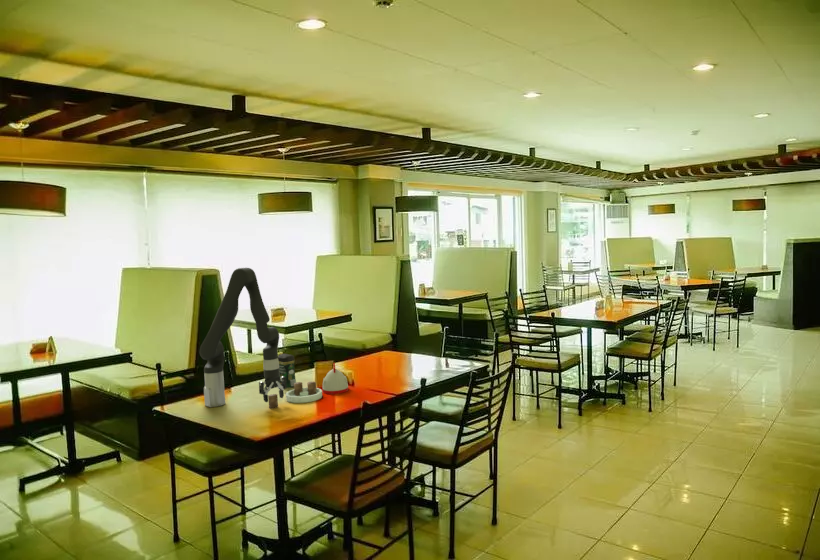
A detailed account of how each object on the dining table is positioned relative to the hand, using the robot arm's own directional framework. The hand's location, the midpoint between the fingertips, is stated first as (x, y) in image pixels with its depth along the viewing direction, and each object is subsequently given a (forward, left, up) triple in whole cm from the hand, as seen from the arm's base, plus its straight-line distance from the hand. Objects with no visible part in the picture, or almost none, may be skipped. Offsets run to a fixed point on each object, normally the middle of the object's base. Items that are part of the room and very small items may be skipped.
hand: (274, 399), depth 282 cm
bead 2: (+24, +1, -3) cm, 24 cm away
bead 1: (+19, +6, -3) cm, 20 cm away
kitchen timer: (+38, -1, -4) cm, 38 cm away
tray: (+19, +1, -4) cm, 19 cm away
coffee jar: (+27, +29, -4) cm, 40 cm away
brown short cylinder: (0, 0, -4) cm, 4 cm away
